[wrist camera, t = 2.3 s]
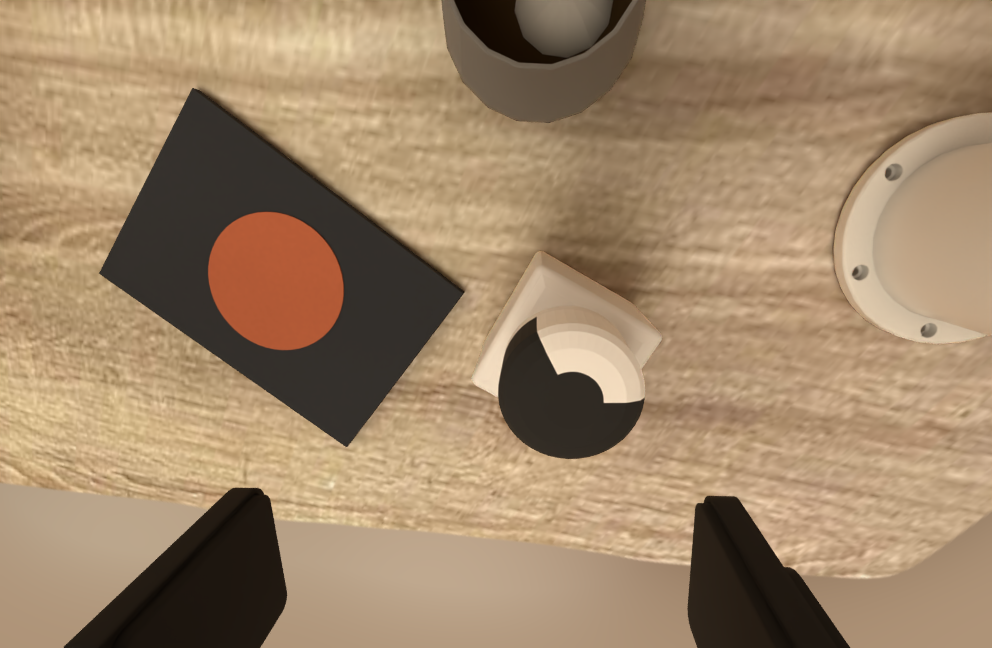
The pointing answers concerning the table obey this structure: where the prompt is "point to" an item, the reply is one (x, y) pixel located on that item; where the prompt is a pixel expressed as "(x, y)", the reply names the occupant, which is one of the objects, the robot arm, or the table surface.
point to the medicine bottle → (567, 361)
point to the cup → (541, 52)
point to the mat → (275, 272)
